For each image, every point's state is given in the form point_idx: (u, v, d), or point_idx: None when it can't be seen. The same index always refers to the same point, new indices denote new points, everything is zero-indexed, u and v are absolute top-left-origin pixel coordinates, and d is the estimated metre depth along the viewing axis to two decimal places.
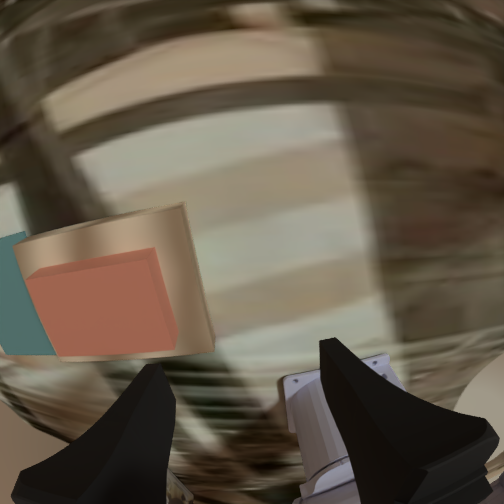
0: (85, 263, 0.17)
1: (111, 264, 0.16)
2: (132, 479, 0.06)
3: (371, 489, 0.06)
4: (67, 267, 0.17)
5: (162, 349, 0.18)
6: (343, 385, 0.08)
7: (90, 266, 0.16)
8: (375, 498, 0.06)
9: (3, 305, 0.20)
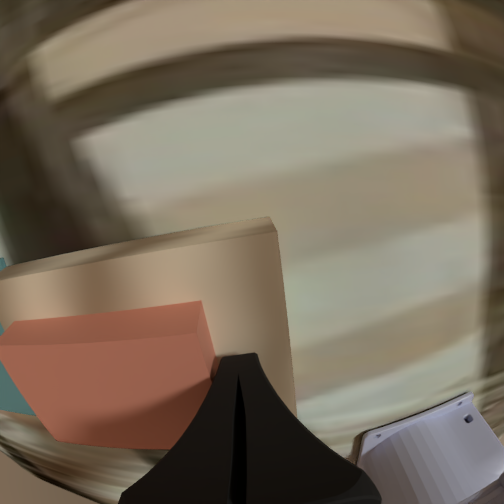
0: (82, 325, 0.10)
1: (128, 338, 0.09)
2: (241, 478, 0.06)
3: None
4: (54, 329, 0.10)
5: None
6: None
7: (91, 335, 0.09)
8: None
9: None
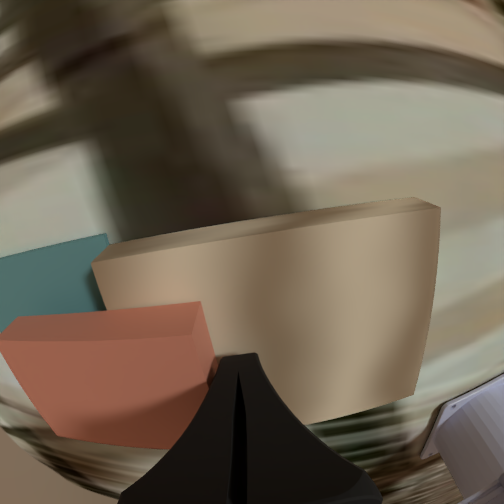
0: (81, 322, 0.10)
1: (124, 338, 0.09)
2: (241, 478, 0.06)
3: None
4: (54, 326, 0.10)
5: None
6: None
7: (89, 333, 0.09)
8: None
9: None
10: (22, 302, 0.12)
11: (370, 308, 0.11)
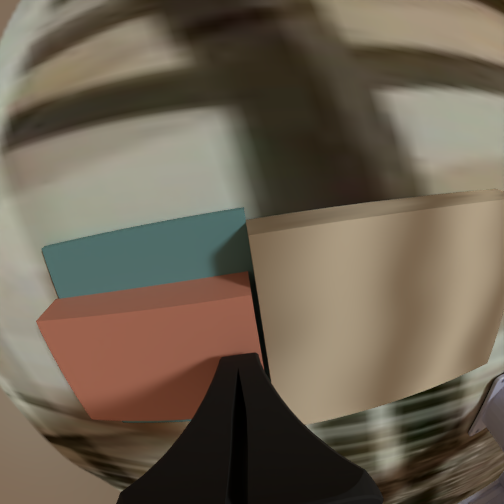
0: (134, 296, 0.12)
1: (187, 303, 0.10)
2: (240, 478, 0.06)
3: None
4: (104, 302, 0.11)
5: None
6: None
7: (147, 304, 0.11)
8: None
9: None
10: (114, 289, 0.12)
11: (475, 279, 0.11)
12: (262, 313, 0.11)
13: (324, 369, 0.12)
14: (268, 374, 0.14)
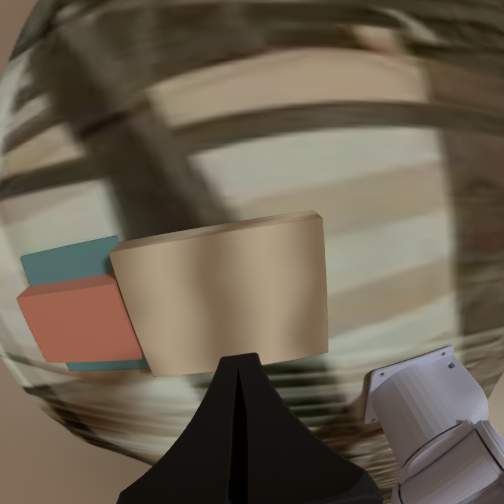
0: (65, 284, 0.19)
1: (84, 288, 0.18)
2: (240, 478, 0.06)
3: None
4: (51, 287, 0.19)
5: (132, 359, 0.20)
6: None
7: (69, 288, 0.18)
8: None
9: None
10: (57, 280, 0.20)
11: (277, 282, 0.19)
12: (123, 295, 0.19)
13: (168, 334, 0.20)
14: None
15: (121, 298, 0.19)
